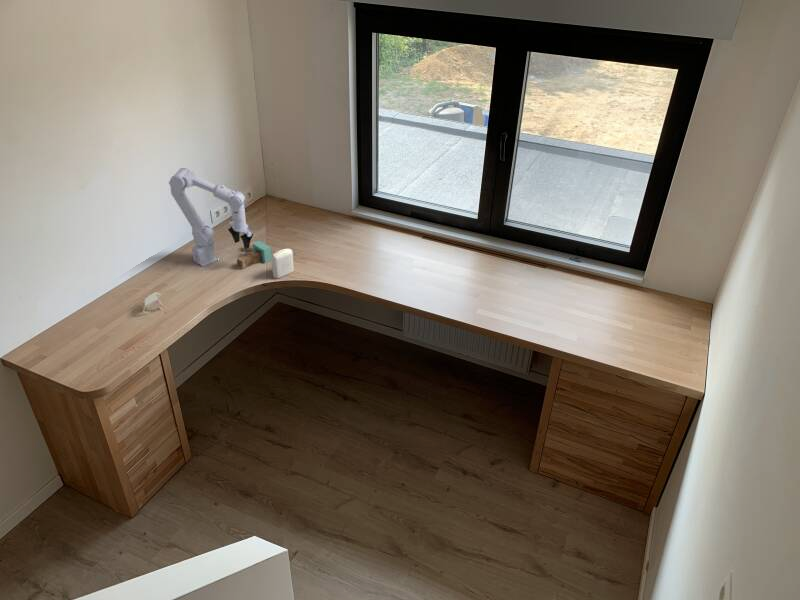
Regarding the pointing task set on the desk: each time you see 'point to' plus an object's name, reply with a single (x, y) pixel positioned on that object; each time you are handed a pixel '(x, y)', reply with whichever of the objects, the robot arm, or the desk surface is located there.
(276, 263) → the photo printer
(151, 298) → the origami figure
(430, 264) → the desk surface
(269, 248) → the teal angular block
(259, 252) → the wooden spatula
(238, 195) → the robot arm
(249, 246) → the bead
